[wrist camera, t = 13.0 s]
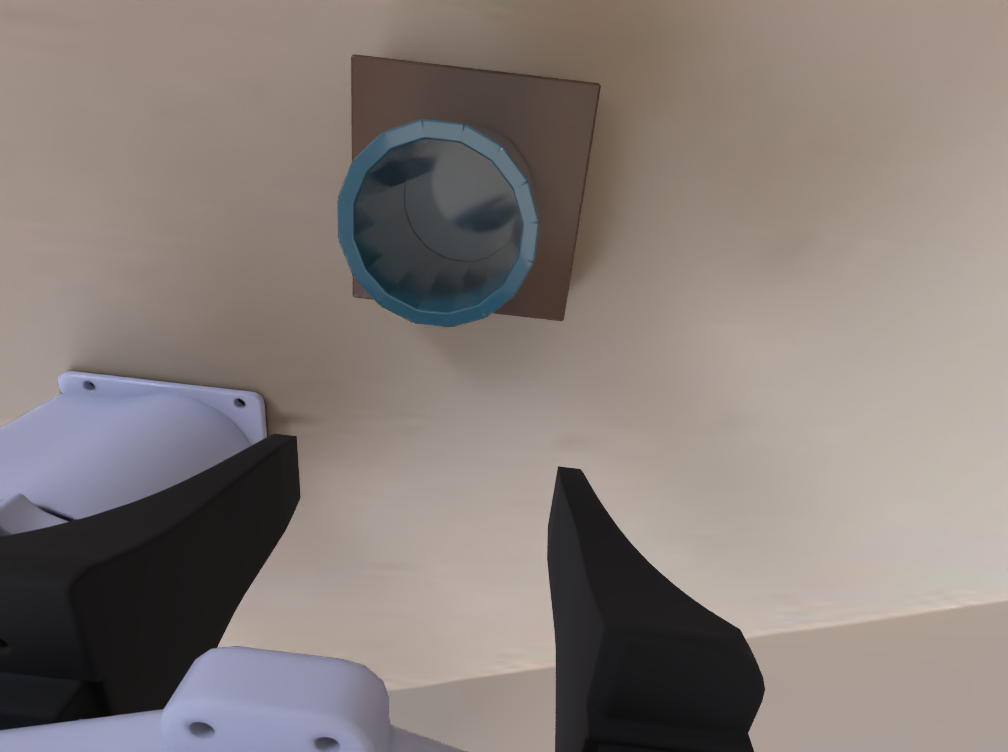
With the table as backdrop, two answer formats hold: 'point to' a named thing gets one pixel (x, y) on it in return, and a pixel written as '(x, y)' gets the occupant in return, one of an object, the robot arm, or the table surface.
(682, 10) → the table surface
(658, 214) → the table surface
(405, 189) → the small cup
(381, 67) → the walnut block
